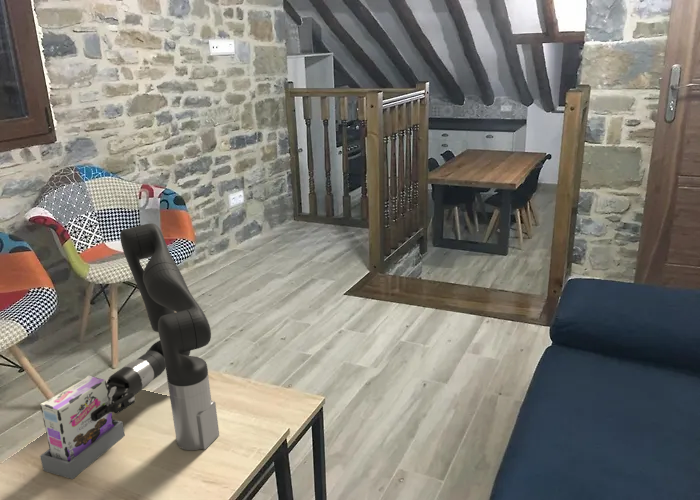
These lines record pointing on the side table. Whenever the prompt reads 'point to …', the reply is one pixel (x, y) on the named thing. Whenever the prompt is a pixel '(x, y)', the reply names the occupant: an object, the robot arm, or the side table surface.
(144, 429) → the side table surface
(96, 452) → the bin
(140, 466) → the side table surface
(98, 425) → the candy box
